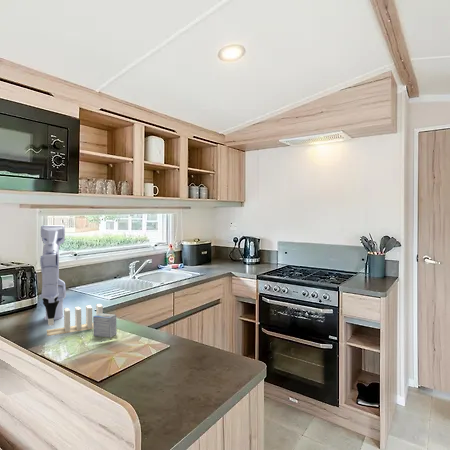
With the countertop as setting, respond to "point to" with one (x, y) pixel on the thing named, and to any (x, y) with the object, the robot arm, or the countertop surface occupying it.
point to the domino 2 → (66, 319)
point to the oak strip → (62, 330)
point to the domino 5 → (99, 309)
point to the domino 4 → (89, 316)
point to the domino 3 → (78, 318)
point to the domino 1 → (51, 321)
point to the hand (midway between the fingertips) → (50, 316)
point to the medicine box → (104, 325)
